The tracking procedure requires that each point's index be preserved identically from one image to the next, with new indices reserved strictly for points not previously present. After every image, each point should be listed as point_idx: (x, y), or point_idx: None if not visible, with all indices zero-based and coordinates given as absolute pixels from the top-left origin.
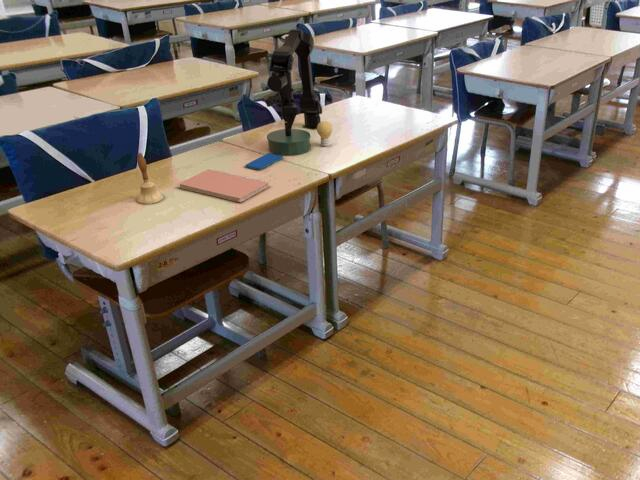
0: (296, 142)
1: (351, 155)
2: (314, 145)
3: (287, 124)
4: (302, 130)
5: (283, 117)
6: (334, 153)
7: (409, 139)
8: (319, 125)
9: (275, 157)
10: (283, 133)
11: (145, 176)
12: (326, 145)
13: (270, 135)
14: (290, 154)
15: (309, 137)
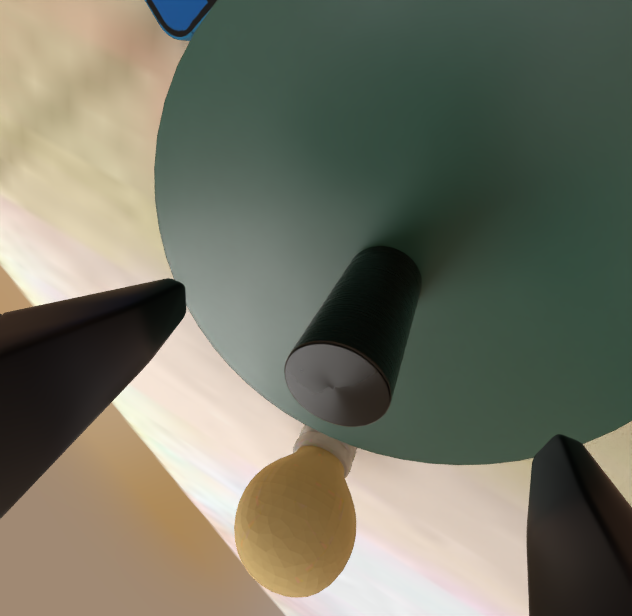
0: (166, 237)
1: (164, 405)
2: None
3: (94, 296)
4: (448, 455)
5: (593, 511)
6: (205, 378)
7: (261, 585)
8: (263, 531)
9: None
10: (501, 269)
11: None
12: None
13: (575, 17)
14: None
15: (254, 383)
